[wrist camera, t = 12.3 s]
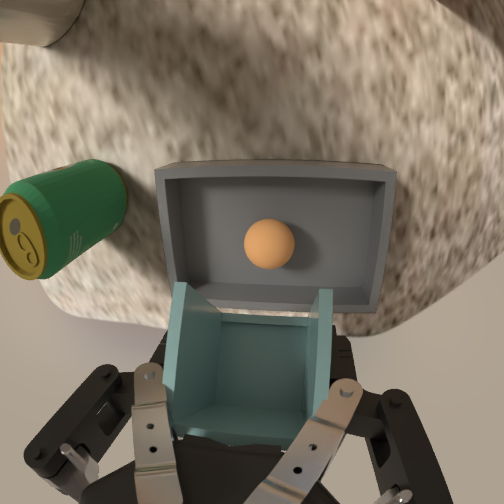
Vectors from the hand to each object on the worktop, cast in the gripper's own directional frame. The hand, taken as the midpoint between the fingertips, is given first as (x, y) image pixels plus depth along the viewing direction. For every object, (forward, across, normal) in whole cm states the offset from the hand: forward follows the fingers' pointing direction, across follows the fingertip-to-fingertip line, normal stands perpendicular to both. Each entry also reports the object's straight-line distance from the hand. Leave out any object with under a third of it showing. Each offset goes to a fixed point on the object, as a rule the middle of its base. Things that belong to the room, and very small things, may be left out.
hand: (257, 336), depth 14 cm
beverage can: (+14, +18, -4) cm, 23 cm away
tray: (+14, 0, -1) cm, 14 cm away
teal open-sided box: (+2, 0, +4) cm, 5 cm away
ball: (+11, 0, -1) cm, 11 cm away
